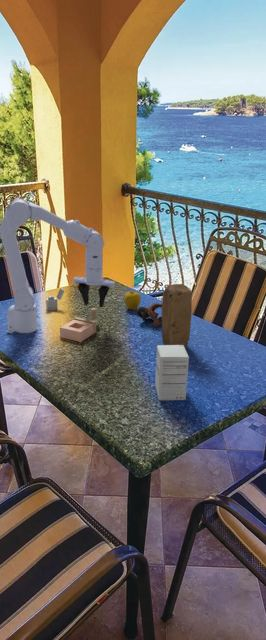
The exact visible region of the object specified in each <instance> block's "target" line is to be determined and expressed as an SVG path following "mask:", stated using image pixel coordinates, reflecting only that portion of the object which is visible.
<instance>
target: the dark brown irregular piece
mask: <svg viewBox="0 0 266 640" xmlns="http://www.w3.org/2000/svg"><path fill="white" fill-rule="evenodd" d="M159 308H161V309H162V303H153V304H151V305H150V306H148V307H144V306H138V308H137V309H135V311H136V315H137V316H138V317H139V318H140V319H141V320H142V321H145V320H146V319H148V318H151V319H152V320H153V323H152V327H154V328H157V327H158V326H160V325H162V316H159V315H160V314H159V313H157V312H156V310H158V309H159Z"/></svg>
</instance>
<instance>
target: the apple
mask: <svg viewBox="0 0 266 640" xmlns="http://www.w3.org/2000/svg"><path fill="white" fill-rule="evenodd" d="M123 299H124V305H125V306H126V308H127V309H128V310H132V311H133V310H134V311H136V310H137V308H139V307H140V303H141V295H140V293H139V292H136V291H131V290H130V289H129V290H128V291H127V292H126V293H125V295H124V298H123Z"/></svg>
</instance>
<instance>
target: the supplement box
mask: <svg viewBox="0 0 266 640" xmlns="http://www.w3.org/2000/svg"><path fill="white" fill-rule="evenodd" d="M189 362H190V357H189V354H188V352H187V350H186V347H184V345H165V344H160V345H157V346H156V363H155V383H154V388H155V389H156V394H157V399H158V401H186V397H187V384H188V373H189Z"/></svg>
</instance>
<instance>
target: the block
mask: <svg viewBox="0 0 266 640" xmlns="http://www.w3.org/2000/svg"><path fill="white" fill-rule="evenodd" d="M192 297H193V296H192V290H191V288H189V287H188V286H187V285H185V284H182V283H173V284H168V285H167V286H166V287H165V289H164V290H163V293H162V299H161V300H162V301H161V304H162V308H161V317H162V324H161V325H162V326H161V339H162V342H163V345H184V347H185V348H186V347H187V346H188V344H189V341H190V337H191V324H192V311H193V308H192V306H193V305H192V303H193V300H192V299H193V298H192Z"/></svg>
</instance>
